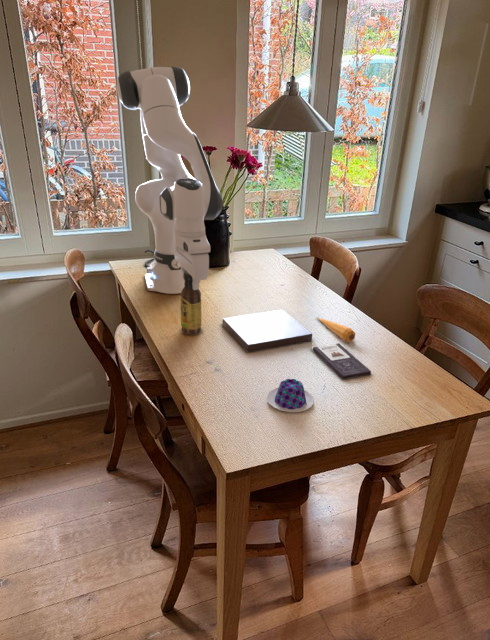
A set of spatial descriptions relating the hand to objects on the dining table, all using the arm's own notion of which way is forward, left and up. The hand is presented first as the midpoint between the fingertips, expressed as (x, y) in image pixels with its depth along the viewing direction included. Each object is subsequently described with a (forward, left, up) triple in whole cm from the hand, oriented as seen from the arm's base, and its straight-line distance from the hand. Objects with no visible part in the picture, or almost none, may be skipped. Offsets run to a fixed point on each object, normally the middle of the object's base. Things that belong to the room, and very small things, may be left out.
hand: (190, 284), depth 160 cm
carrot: (+15, +44, -16) cm, 49 cm away
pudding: (+47, +10, -16) cm, 51 cm away
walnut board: (+9, +22, -16) cm, 28 cm away
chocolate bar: (+34, +34, -16) cm, 51 cm away
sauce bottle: (0, 0, -16) cm, 16 cm away
